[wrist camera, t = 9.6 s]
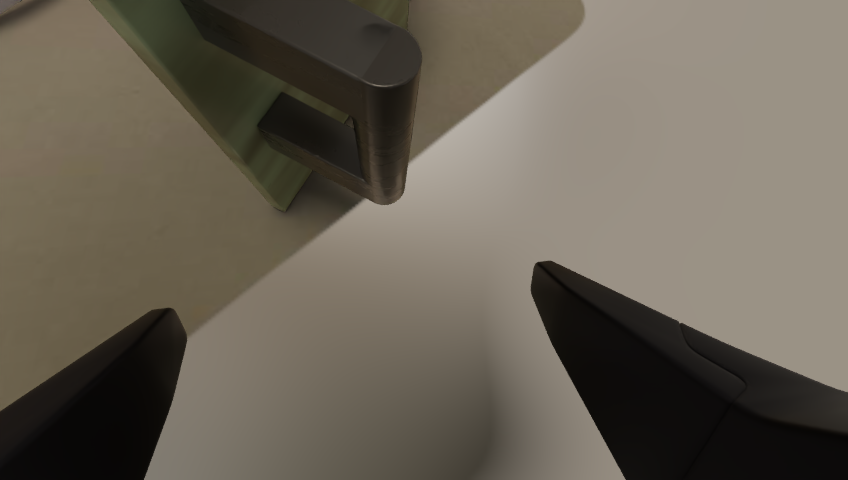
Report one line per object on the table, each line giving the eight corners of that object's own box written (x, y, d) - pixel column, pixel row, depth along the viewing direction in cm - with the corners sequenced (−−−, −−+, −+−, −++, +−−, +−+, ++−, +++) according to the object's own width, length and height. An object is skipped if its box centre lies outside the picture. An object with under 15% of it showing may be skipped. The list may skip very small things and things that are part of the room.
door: (487, 70, 22) (647, -341, 8) (378, 262, 18) (362, 80, 5) (395, 22, 22) (411, -454, 9) (270, 205, 18) (-19, -118, 5)
